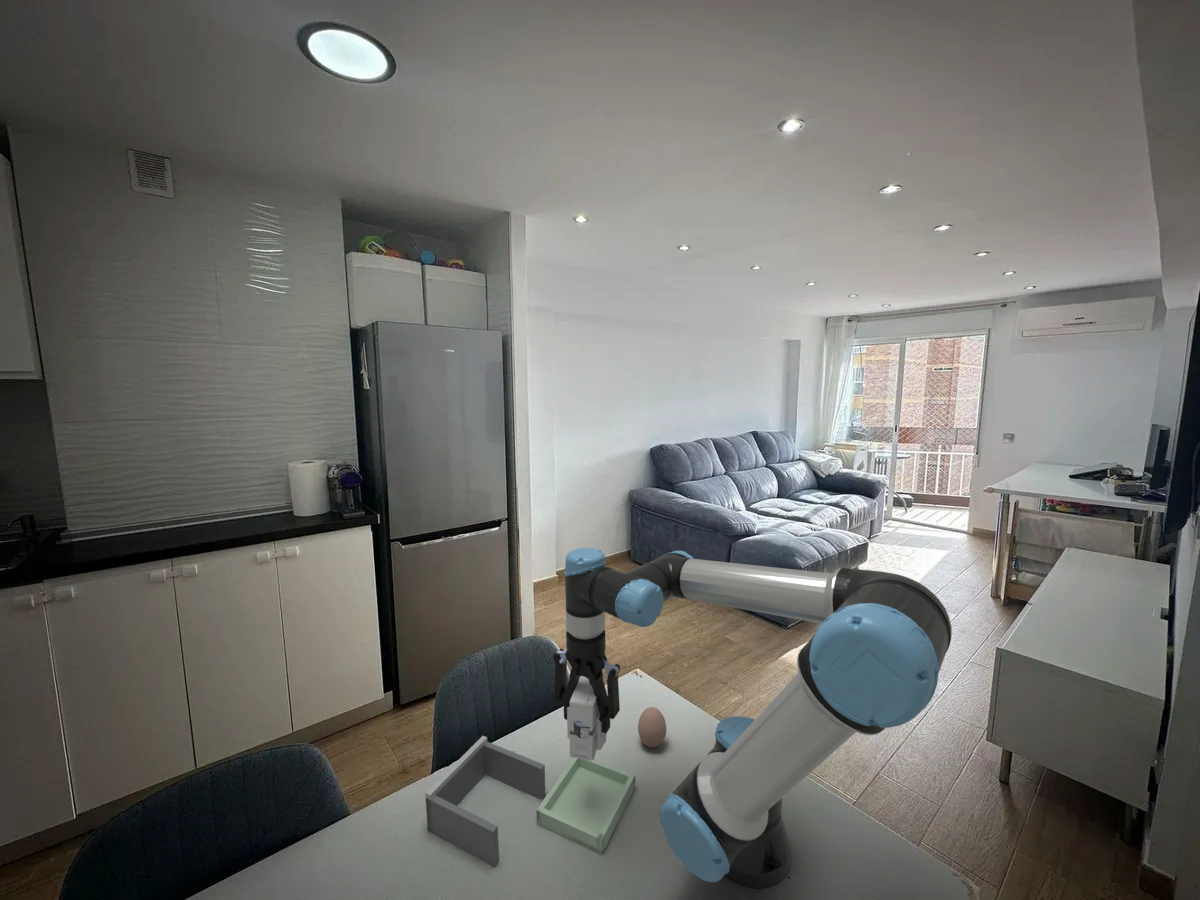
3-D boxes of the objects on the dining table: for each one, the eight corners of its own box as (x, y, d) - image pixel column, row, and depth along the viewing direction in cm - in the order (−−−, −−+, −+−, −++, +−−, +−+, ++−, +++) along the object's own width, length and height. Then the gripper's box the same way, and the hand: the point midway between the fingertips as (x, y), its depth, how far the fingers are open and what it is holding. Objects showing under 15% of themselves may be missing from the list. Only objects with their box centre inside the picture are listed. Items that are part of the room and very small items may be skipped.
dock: (545, 795, 98) (544, 760, 97) (494, 867, 84) (493, 826, 83) (484, 768, 105) (482, 735, 104) (427, 830, 91) (425, 792, 90)
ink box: (580, 726, 99) (579, 674, 97) (604, 729, 98) (603, 676, 96) (569, 758, 91) (567, 701, 89) (595, 762, 90) (593, 704, 88)
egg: (653, 760, 107) (653, 723, 106) (632, 743, 112) (632, 708, 111) (672, 745, 112) (672, 709, 111) (651, 730, 117) (651, 695, 115)
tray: (635, 787, 100) (635, 774, 100) (601, 854, 86) (601, 840, 85) (576, 764, 106) (576, 752, 106) (536, 823, 92) (536, 810, 92)
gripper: (638, 631, 90) (638, 742, 93) (554, 611, 98) (556, 713, 102) (623, 651, 83) (622, 769, 87) (533, 627, 92) (536, 736, 95)
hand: (586, 739), depth 94 cm, fingers closed on ink box, 6 cm apart
